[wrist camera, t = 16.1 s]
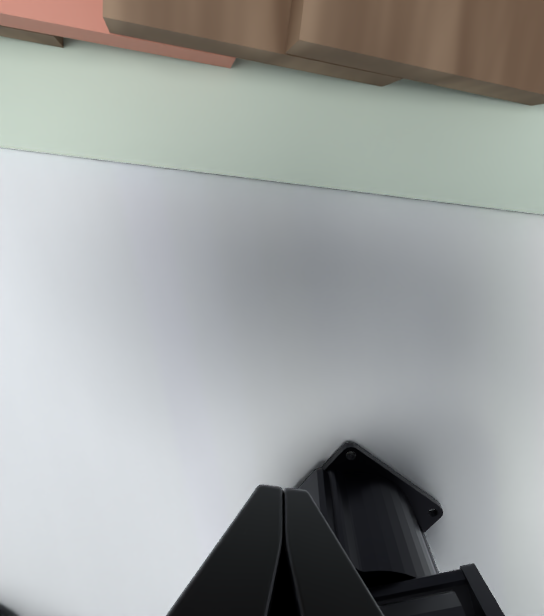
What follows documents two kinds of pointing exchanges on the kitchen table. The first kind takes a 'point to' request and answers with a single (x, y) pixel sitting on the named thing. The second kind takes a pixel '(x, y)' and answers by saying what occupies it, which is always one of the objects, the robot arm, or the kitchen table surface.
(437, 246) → the kitchen table surface
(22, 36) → the domino
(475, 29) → the domino
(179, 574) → the kitchen table surface
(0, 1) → the red domino
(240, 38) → the domino
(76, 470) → the kitchen table surface
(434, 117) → the sage board
